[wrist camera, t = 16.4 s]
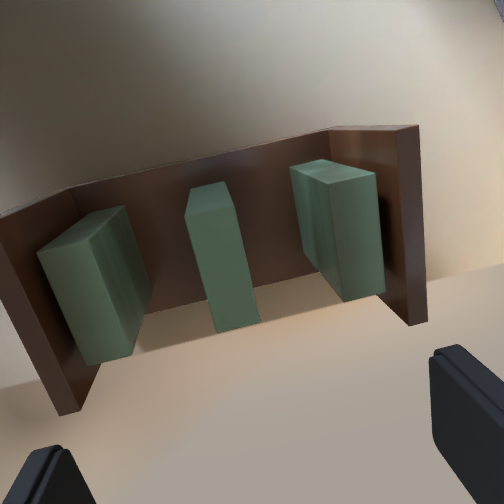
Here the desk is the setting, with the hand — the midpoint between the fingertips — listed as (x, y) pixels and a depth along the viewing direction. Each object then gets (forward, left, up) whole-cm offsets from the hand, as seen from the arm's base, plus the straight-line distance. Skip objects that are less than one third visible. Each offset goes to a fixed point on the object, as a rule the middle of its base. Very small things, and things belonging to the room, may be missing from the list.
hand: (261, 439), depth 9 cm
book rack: (0, 0, -21) cm, 21 cm away
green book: (0, 0, -20) cm, 20 cm away
